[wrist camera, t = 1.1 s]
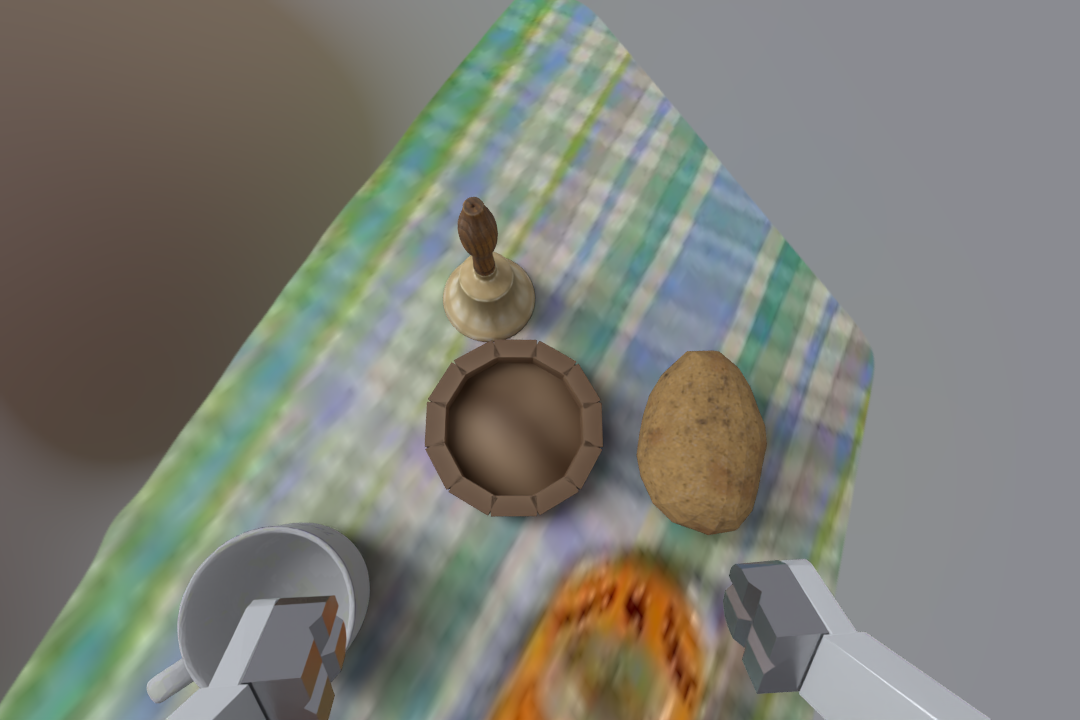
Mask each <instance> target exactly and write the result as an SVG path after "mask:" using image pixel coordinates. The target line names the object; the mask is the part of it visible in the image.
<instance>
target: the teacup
mask: <svg viewBox="0 0 1080 720" xmlns="http://www.w3.org/2000/svg"><path fill="white" fill-rule="evenodd" d="M329 595H335V597H336V600H337V602H338V605H339V607H338V610H337V614H336V616H338V617H339V618H341V619H342V620H343V621H344V624H345V627H346V638H347V640H346V650H345V652H346V651H347V650H348V648H349V647H350V645H351V644H352V642H353V640H354V639H355V637H356V635H357V634H358V632H359V630H360V628H361V626H362V623H363V621H364V618H365V616H366V612H367V608H368V604H369V596H370V582H369V575H368V570H367V567H366V564H365V561H364V559H363V557H362V555H361V554H360V552H359V550H358V549H357V548H356V546H355V545H354V544H353V543H352V542H351V541H350V540H349V539H348V538H347V537H346V536H344V535H343V534H341V533H340V532H338V531H336V530H334V529H332V528H330V527H327V526H324V525H321V524H315V523H291V524H284V525H279V526H271V527H262V528H258V529H254V530H251V531H248V532H244V533H243V534H241V535H238V536H236V537H234V538H232V539H231V540H229V541H227V542H225V543H224V544H223V545H221V546H220V547H218V548H217V550H216V551H215V552H213V553H212V554H211V555H210V556H209V557H208V558H207V559H206V560H205V561H204V562H203V563H202V564H201V565H200V567H199V568H198V569H197V571H196V572H195V574H194V575H193V576H192V578H191V580H190V582H189V584H188V586H187V589H186V591H185V593H184V595H183V598H182V601H181V605H180V608H179V615H178V627H177V629H178V640H179V647H180V651H181V655H182V659H181V660H179V661H178V662H176V663H175V664H173V665H172V666H170V667H168V668H167V669H166V670H164V671H163V672H161V673H159V674H158V675H156V676H155V677H154V678H152V679H151V680H150V681H149V682H148V684H147V693H148V695H149V696H150V698H151V700H152V701H154V702H155V703H161V702H163V701H165V700H166V699H168V698H169V697H171V696H172V695H174V694H175V693H177V692H178V691H180V690H181V689H183V688H184V687H186V686H187V685H189V684H190V683H192V682H193V681H194V682H195V683H196V684H197V685H198V686H199V688H205V687H209V685H210V682H211V680H212V678H213V676H214V674H215V672H216V670H217V668H218V666H219V664H220V662H221V660H222V658H223V655H224V653H225V651H226V649H227V647H228V645H229V643H230V641H231V639H232V637H233V635H234V633H235V631H236V628H237V626H238V624H239V622H240V620H241V618H242V616H243V614H244V612H245V610H246V608H247V607H248V606H249V605H250V604H251V603H252V601H253V600H259V599H273V598H292V597H310V596H329Z"/></svg>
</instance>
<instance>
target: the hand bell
mask: <svg viewBox="0 0 1080 720" xmlns="http://www.w3.org/2000/svg"><path fill="white" fill-rule="evenodd" d="M458 233H459V237H460V240H461V243H462V245H463V247H464V248H465V250H466V251H467V252H468V253H469V254H470V255H471V256H470V257H468V258H467V259H466V260H465V261H464V263H462V264H461V265H460V266H458V267H457V268H456V269H455V270H454V271H453V272H452V274H451V275H450V277H449V278H448V280H447V282H446V285H445V288H444V293H443V304H444V309H445V313H446V315H447V317H448V319H449V321H450V322H451V324H452V325H453V326H454V327H455V328H456V329H457V330H458V331H459V332H460V333H462V334H464V335H465V336H467V337H469V338H471V339H474V340H477V341H484V342H489V341H491V340H492V342H494V340H504V339H506V338H509V337H511V336H513V335H514V334H516V333H517V332H519V331H520V330H521V329H522V328H523V327H524V326H525V325H526V323H527V322H528V320H529V319H530V317H531V315H532V312H533V309H534V304H535V293H534V288H533V284H532V282H531V280H530V278H529V276H528V275H527V273H526V272H525V271H524V270H523V269H522V268H521V267H520V266H519V265H518V264H516V263H514V262H513V261H511V260H509V259H507V258H505V257H503V256H502V255H500V254H498V253H496V252H493V251H494V249H495V247H496V244H497V237H498V231H497V224H496V221H495V218H494V216H493V215H492V213H491V212H490V211H489V209H488V208H487V207H486V206H485V205H484V203H483V202H482V201H481V200H480V199H479V198H477V197H470V198H468V199H467V200H465V202H464V203H463V209H462V211H461V213H460V215H459V219H458Z"/></svg>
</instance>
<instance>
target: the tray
mask: <svg viewBox="0 0 1080 720" xmlns="http://www.w3.org/2000/svg"><path fill="white" fill-rule="evenodd" d="M454 361H455V363H456V365H455V364H454V363H451V364H450V366H449V367H448V369H447V370H446V372H445V374H444V375H443V377H442V378H441V380H440V381H439V383H438V384H437V386H436V388H435V389H434V391H433V392H432V394H431V395H430V397H429V398H428V399H429V400H430V401H431V402H427V414H426V432H425V447H427V449H425V450H426V451H427V453H428V455H429V457H430V459H431V461H432V463H433V465H434V467H435V469H436V471H437V473H438V474H439V476H440V478H441V480H442V482H443V484H444V486H445V488H446V489H450V490H449V492H450V493H451V494H453V495H455V496H456V497H458V498H460V499H461V500H463V501H465V502H466V503H468V504H469V505H471V506H473V507H474V508H476V509H478V510H479V511H481V512H483V513H484V514H486V515H489V513H490V512H491V516H537V512H538V514H539V515H541V514H543V513H544V512H546V511H548V510H549V509H551V508H553V507H554V506H556V505H557V504H559V503H561V502H562V501H564V500H566V499H567V498H569V497H571V496H572V495H574V494H576V493H577V492H579V491H578V489H581V488H582V486H583V485H584V483H585V481H586V479H587V477H588V475H589V473H590V471H591V470H592V468H593V466H594V464H595V462H596V460H597V458H598V456H599V455H600V453H601V451H602V449H600V448H601V447H603V435H602V404H601V403H598V402H599V401H600V398H599V397H598V395H597V393H596V392H595V390H594V388H593V387H592V385H591V383H590V382H589V380H588V379H587V377H586V375H585V374H584V372H583V370H582V369H581V367H580V365H579V364H577V365H575V363H576V361H574V360H573V359H571V358H569V357H567V356H566V355H564V354H562V353H560V352H559V351H557V350H555V349H553V348H551V347H550V346H548V345H546V344H544V343H543V342H541V341H539V342H538V344H537V340H494V343H493V342H492V340H491V341H489V342H487V343H485V344H484V345H482V346H480V347H478V348H476V349H474V350H472V351H470V352H469V353H467V354H465V355H463V356H461V357H459V358H457V359H456V360H454ZM574 365H575V366H574Z"/></svg>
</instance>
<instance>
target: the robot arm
mask: <svg viewBox="0 0 1080 720" xmlns="http://www.w3.org/2000/svg"><path fill="white" fill-rule="evenodd" d="M729 577H730V579H731V582H732V585H731V586H729V587H728V588H727V589H726V590H725V594H724V599H723V605H724V615H725V618H726V622H727V626H728V628H729V630H730V633H731V635H732V638H733V639H735V640H736V641H737V642H738V643H739V644H741V645H742V646H743V647H744V648H745V649H744V653H743V657H742V661H743V663H744V665H745V668H746V670H747V672H748V674H749V677H750V679H751V681H752V684H753V686H754V688H755V690H756V693H757V694H761V693H777V692H794V691H800V692H799V694H800V695H801V696H802V697H803V698H804V699H805V700H806V701H807V702H808V703H809V704H810V705H811V706H812V707H813V708H814V709H815V710H816V711H817V712H818V713H819V714H820V715H821V716H822V717H823V718H824V719H825V720H991V719H990V718H988V717H987V716H986V715H984V714H982V713H981V712H980V711H978V710H977V709H976V708H974V707H973V706H971V705H970V704H968V703H967V702H965V701H964V700H963V699H961V698H960V697H958V696H957V695H955V694H954V693H953V692H951V691H950V690H948V689H947V688H945V687H944V686H942V685H941V684H939V683H938V682H937V681H935V680H934V679H932V678H931V677H930V676H928V675H927V674H925V673H924V672H922V671H921V670H920V669H918V668H917V667H915V666H914V665H912V664H911V663H909V662H908V661H907V660H905V659H904V658H902V657H901V656H899V655H898V654H896V653H895V652H894V651H892V650H891V649H889V648H888V647H886V646H885V645H883V644H882V643H881V642H879V641H878V640H876V639H875V638H873V637H872V636H870V635H869V634H868V633H866V632H857V630H856V629H855V627H854V626H853V624H852V623H851V622H850V620H849V618H848V617H847V616H846V614H845V613H844V611H843V610H842V608H841V607H840V605H839V604H838V602H837V601H836V599H835V598H834V596H833V595H832V593H831V592H830V590H829V589H828V587H827V586H826V584H825V583H824V581H823V580H822V579H821V577H820V576H819V574H818V573H817V571H816V570H815V568H814V567H813V565H812V564H811V563H810V562H809V561H808V560H806V559H795V560H784V561H779V560H775V561H764V562H753V563H742V564H735V565H733V566H732V567H731V570H730V574H729ZM338 607H339V605H338V602H337V600H336V597H335V595H329V596H310V597H292V598H273V599H259V600H253V601H252V603H251V604H250V605H249V606H248V607H247V608H246V610H245V612H244V614H243V616H242V618H241V620H240V622H239V624H238V626H237V628H236V631H235V633H234V635H233V637H232V639H231V641H230V643H229V645H228V647H227V649H226V651H225V653H224V655H223V658H222V660H221V662H220V664H219V666H218V668H217V670H216V672H215V674H214V676H213V678H212V680H211V682H210V685H209V687H205V688H199V689H198V690H197V691H196V692H195V693H194V694H193V695H192V696H191V697H190V698H189V699H187V700H186V701H185V702H184V703H183V704H182V705H181V706H180V707H179V708H178V709H177V710H175V711H174V712H173V713H172V714H171V715H170V716H169V717H168V718H167V719H166V720H328V719H329V715H330V711H331V707H332V704H333V700H334V696H335V695H334V692H333V689H332V686H331V682H332V681H333V680H334V678H335V677H336V676H337V675H338V674H339V673H340V672H341V670H342V666H343V662H344V657H345V650H346V640H347V638H346V627H345V624H344V621H343V620H342V619H341V618H339V617H338V616H336V614H337V610H338Z"/></svg>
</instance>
